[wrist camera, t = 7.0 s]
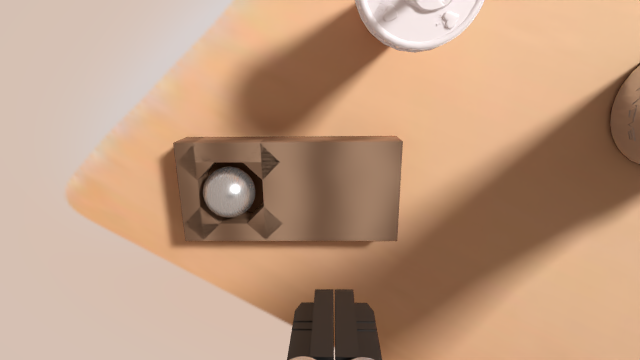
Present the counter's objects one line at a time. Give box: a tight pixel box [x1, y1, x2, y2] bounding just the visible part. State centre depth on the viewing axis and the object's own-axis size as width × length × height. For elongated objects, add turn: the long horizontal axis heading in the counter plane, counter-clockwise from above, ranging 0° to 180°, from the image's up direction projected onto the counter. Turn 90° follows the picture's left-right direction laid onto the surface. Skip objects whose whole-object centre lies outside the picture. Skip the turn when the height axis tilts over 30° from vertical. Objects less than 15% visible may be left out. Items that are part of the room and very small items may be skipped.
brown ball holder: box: [173, 136, 403, 241], centre depth 28 cm, size 17×8×2 cm, turn 91°
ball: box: [203, 167, 255, 218], centre depth 28 cm, size 4×4×4 cm
